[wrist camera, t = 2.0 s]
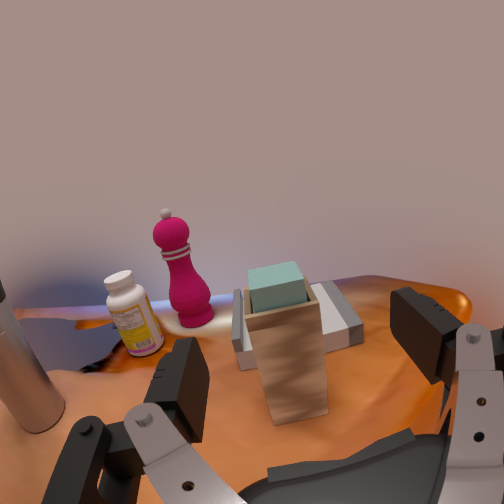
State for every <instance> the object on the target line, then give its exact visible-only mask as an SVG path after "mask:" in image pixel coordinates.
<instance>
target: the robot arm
mask: <svg viewBox="0 0 504 504" xmlns="http://www.w3.org/2000/svg"><path fill="white" fill-rule="evenodd" d="M390 328H391V332H392V334H393V336H394V338H395V339H396V340H397V341H398V343H399V344H400V345H401V346H402V348H403V349H404V350H405V351H406V353H407V354H408V355H409V356H410V358H411V359H412V360H413V362H414V363H415V364H416V365H417V367H418V368H419V369H420V371H421V372H422V373H423V374H424V376H425V377H426V378H427V380H428V381H429V382H430V384H431V385H433V384H435V383H437V382H439V381H441V380H442V381H443V382H444V386H443V389H442V396H441V403H440V409H439V414H438V419H437V424H436V428H435V431H434V434H420V435H413V433H412V431H411V429H410V427H409V428H407V429H405V430H402V431H400V432H398V433H395V434H393V435H390V436H388V437H385V438H382V439H380V440H377V441H376V442H374V443H373V444H371V445H369V446H368V447H366V448H364V449H362V450H361V451H359V452H357V453H355V454H354V455H352V456H350V457H348V458H346V459H343V460H331V461H304V462H299V463H294V464H289V465H283V466H277V467H271V468H267V472H268V477H266V478H264V479H261V480H259V481H257V482H255V483H253V484H251V485H249V486H247V487H246V488H244V489H243V490H242V491H240V492H239V493H238V494H236V493H235V492H234V491H233V490H232V489H231V488H230V487H229V486H228V485H227V484H226V483H225V482H224V481H223V480H222V479H221V478H220V477H219V476H218V475H217V474H216V473H215V472H214V470H213V469H212V468H211V467H210V466H209V465H208V464H207V463H206V462H205V461H204V460H203V458H202V457H201V456H200V455H199V454H198V453H197V452H196V450H195V449H194V448H193V447H192V446H191V443H202V437H203V429H204V420H205V412H206V404H207V396H208V389H209V381H210V377H209V370H208V367H207V364H206V362H205V359H204V357H203V354H202V351H201V349H200V346H199V344H198V341H197V339H196V338H195V337H189V338H183V339H177V340H176V341H175V344H174V346H173V349H172V352H170V353H166V354H165V355H164V356H163V357H162V358H161V359H160V361H159V362H158V365H157V367H156V372H155V373H154V375H153V379H152V381H151V383H150V386H149V389H148V391H147V394H146V397H145V399H144V402H143V403H142V404H139V405H137V406H135V407H133V408H132V409H131V410H130V411H129V412H128V413H127V414H126V416H125V418H124V421H121V422H117V423H113V424H108V425H105V424H104V423H103V422H102V420H101V419H100V418H98V417H96V416H87V417H84V418H81V419H80V420H78V421H77V422H76V423H75V424H74V425H73V427H72V429H71V431H70V433H69V435H68V438H67V440H66V442H65V444H64V447H63V449H62V451H61V454H60V456H59V459H58V461H57V463H56V466H55V468H54V471H53V473H52V476H51V479H50V481H49V484H48V486H47V489H46V492H45V495H44V498H43V500H42V503H41V504H136V503H137V496H138V490H139V485H140V479H141V475H144V474H146V475H147V477H148V478H149V480H150V482H151V483H152V485H153V487H154V488H155V490H156V491H157V493H158V494H159V496H160V497H161V499H162V500H163V502H164V503H165V504H504V326H503V328H501V329H497V330H493V331H489V330H488V329H487V328H486V327H485V326H483V325H481V324H477V323H468V324H463V323H462V322H461V321H460V320H458V319H457V318H456V317H455V316H454V315H452V314H451V313H450V312H449V311H447V310H445V308H444V307H442V306H441V305H439V303H437V302H436V301H435V300H434V299H432V298H431V297H428V296H425V295H423V294H420V295H419V294H418V293H417V292H416V291H414V290H413V289H412V288H410V287H409V286H407V287H404V288H401V289H398V290H395V291H392V292H391V296H390ZM0 399H1V400H2V401H3V403H4V404H5V405H6V407H7V408H8V409H9V411H10V412H11V413H12V415H13V416H14V417H15V418H16V420H17V421H18V422H19V423H20V424H21V426H22V427H23V428H24V429H25V430H26V431H28V432H31V433H38V432H42V431H45V430H47V429H48V428H50V427H51V426H53V425H54V424H55V423H56V422H57V421H58V420H59V418H60V417H61V415H62V413H63V411H64V407H65V402H64V399H63V398H62V396H61V395H60V393H59V392H58V390H57V389H56V387H55V386H54V384H53V383H52V381H51V380H50V378H49V377H48V375H47V373H46V372H45V370H44V369H43V367H42V365H41V364H40V362H39V360H38V359H37V357H36V355H35V353H34V352H33V350H32V348H31V346H30V344H29V343H28V341H27V339H26V337H25V335H24V333H23V331H22V329H21V327H20V325H19V323H18V321H17V319H16V317H15V315H14V312H13V310H12V308H11V306H10V303H9V301H8V299H7V296H6V294H5V291H4V289H3V287H2V283H1V280H0ZM101 469H102V470H103V473H102V477H101V480H100V484H99V488H98V489H97V482H98V479H99V475H100V472H101Z"/></svg>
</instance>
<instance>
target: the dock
mask: <svg viewBox="0 0 504 504" xmlns="http://www.w3.org/2000/svg"><path fill="white" fill-rule="evenodd" d="M310 286H311V288H312V290H313V292H314V294H315V295H316V297H317V299H318V301H319V303H320V312H321V321H322V331H323V342H324V353H327V352H331V351H335V350H339V349H342V348H346V347H350V346H353V345H356V344H360V343H363V322H362V321H361V319H360V318H359V316H358V315H357V314H356V312H355V311H354V310H353V308H352V307H351V305H350V304H349V303H348V301H347V300H346V299H345V297H344V296H343V295H342V293H341V292H340V291H339V289H338V288H337V287H336V285H335V284H334V283H333V281H332V280H330V281H326V282H321V283H318V284H314V285H310ZM231 340H232V343H233V347H234V350H235V353H236V356H237V359H238V363H239V366H240V369H241V371H242V370H248V369H254V368H258V367H257V364H256V360H255V356H254V353H253V349H252V345H251V342H250V338H249V334H248V330H247V327H246V323H245V319H244V300H243V299H242V295H241V291H240V289H237V290H234V299H233V318H232V338H231Z"/></svg>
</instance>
